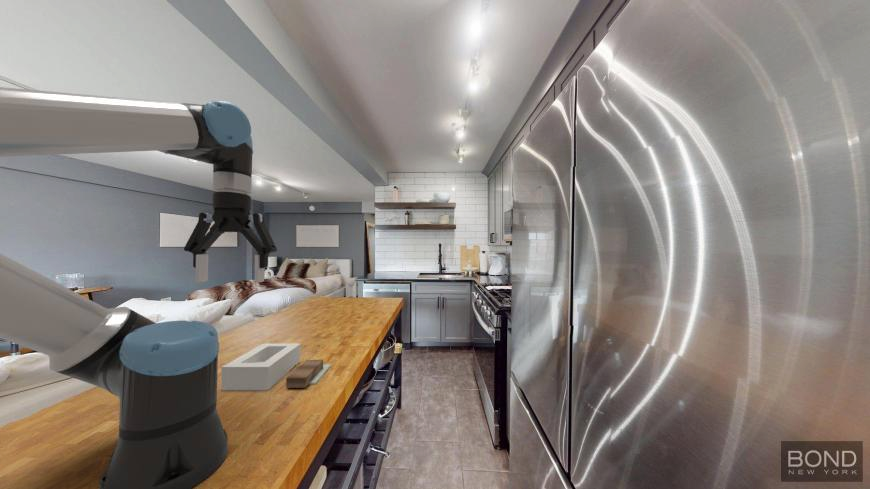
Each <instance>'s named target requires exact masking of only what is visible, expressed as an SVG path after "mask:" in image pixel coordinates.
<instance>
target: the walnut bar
mask: <svg viewBox="0 0 870 489" xmlns="http://www.w3.org/2000/svg"><path fill="white" fill-rule="evenodd" d="M323 364H324V359H306V360H305V361H303V362H302V363H301V364H300V365H299V366H298V367H296V369H294V371H292V372H291V373H290V374H289V375H288V376H287V377H286V378H285V379H286V380H285V388H289V389H290V388H293V389H294V388H296V389H297V388H298V389H299V388H307V387H308V384H309V383H310V382H311V381H312V380H313V379H314V378H315V376H316V375H317V374H318V373H319V372H320V371H321V370H322V369H323ZM309 385H310V384H309Z"/></svg>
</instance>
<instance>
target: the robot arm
mask: <svg viewBox="0 0 870 489" xmlns="http://www.w3.org/2000/svg"><path fill="white" fill-rule="evenodd" d="M251 134H252V126H251V122H250V120H249V117H248V116H247V115H246V113H245V111H243V110H242V109H241V108H240V107H239V106H237V105H236V104H234V103H232V102H229V101H225V100H217V101H210V102H207V103H205V104H198V103H186V102H184V103H183V102H175V101H174V102H171V101H162V100H161V101H159V100H151V99H150V100H149V99H138V98H127V97H115V96H105V95H95V94H94V95H93V94H81V93H71V92H59V91H58V92H57V91H50V90H49V91H47V90H39V89H38V90H37V89H36V90H35V89H24V88H23V89H22V88H13V87H2V86H0V157H1V158H2V157H3V158H5V157H23V156H24V157H26V156H27V157H28V156H48V155H49V156H52V155H54V156H55V155H56V156H57V155H75V154H76V155H79V154H103V153H126V152H128V153H129V152H130V153H131V152H152V151H154V152H155V151H156V152H157V151H158V152H161V153H163V154H165V155H172V156H177V157H180V158H184V159H185V158H186V159H189V160H193V161H198V162H202V163H205V164H210V165H212V168H213V170H212V171H213V173H212V190H213V191H215V192H213V194H212V203H211V204H212V208H213V214H212V213H207V212H200V213H199V214H198V221H197V223H196V225H195V227H194V229H193V230H192V233H191V234H190V236H189V238H188V240H187V241H186V243H185V245H184V247H183V250H184V251H185V252H189V253H191V254H192V256H193V258H192V266H193V268H195V280H194V283H204V282H208V281H209V254H207V251H208V250H209V249H210V248H211V246H213V244H215V242H216V241H218V239H219V238H220V237H221V235H223V234H225V233H241V234H242V235H243V237H244V238H245V239H246V240H247V241H248V242H249V244H250V245H251V246H252V247H253V249H254V250H255V251H256V253H257V254H255V255H254V274H253V275H254V277H253V278H254V279H253V280H254V281H253V282H254V283H263V282H265V272H266V271H265V270H266V269H267V268H268V267H269V255H271V254H272V253H276V252H277V250H278V249H277V246H276V244H275V243H274V241H273V238H272V236H271V234H270V232H269V230H268V227H267V226H266V224H265V217H264V215H263V214H261V213H257V212H254V213H253V214H251V210H252V197H251V196H250V195H251V194H252V181H253V180H252V179H253V178H252V177H253V176H252V173H253V154H254V149H253V137H252V135H251ZM250 222H251V223H253V225H254V228H255V230H256V232H257V234H258V235H257V234H256V233H255V232H254V229H253V228H252V227H251V226H250ZM212 223H213V224H212ZM258 236H259V237H258ZM0 339H2V340H3V341H4V340H5V341H7V342H10V343H13V344H15V345H17V346H18V345H19V346H22V347H23V348H27V349H29V350H32V351H35V352H38V353H40V354H43V355H45V356H48V358H49V359H48V360H49V370H50V371H52V372H55V373H58V374H61V375H65V376H66V377H70V378H73V379H76V380H78V381H82V382H84V383H87V384H90V385H93V386H96V387H98V388H101V389H103V390H105V391H107V392H109V393H110V394H112V395H114V396H115V397H118V399H119V418H118V420H119V421H118V422H119V424H118V439H117V442H116V445H115V448H114V449H113V452H112V455H110V459H109V461H108V465H107V468H106V470H105V471H104V473H103V475H102V477H101V479H100V482H99V485H98V489H193V488H194V487H196V486H197V485H198V484H200V483H201V482H203V481H204V480H206V479H207V478H208V477H209V476H210V475H212V474H213V473H214V472H215V471H216V470H217V469H218V468H219V467H220V465H222V463H224V460H225V458H227V454H228V450H229V449H228V447H229V446H228V445H229V444H228V443H229V442H228V441H229V440H228V439H229V438H228V433H227V432H226V430H225V429H224V427H223V424H222V422H221V418H220V415H219V413H218V410H217V409H218V408H217V402H218V401H217V398H218V397H217V396H218V372H219V370H218V366H219V352H220V342H219V337H218V331H217V329H216V328H215V327H214V325H212V324H210V323H207V322H205V321H197V320H190V321H189V320H169V321H161V322H155V321H153V320H151V319H149V318H148V317H145V316H144V315H142V314H140V313H139V312H137V311H134V310H132V309H130V308H129V307H127V306H119V307H112V308H111V307H110V308H107V307H104V306H103V305H101V304H99V303H97V302H95V301H93V300H91V299H89V298H87V297H86V296H83V295H81V294H79V293H77V292H76V291H74V290H72V289H70V288H68V287H65V286H64V285H62V284H60V283H58V282H57V281H55V280H52V279H50V278H49V277H46V276H44V275H43V274H41V273H39V272H37V271H34V270H33V269H31V268H30V267H27V266H25V265H23V264H22V263H20V262H18V261H15V259H12V258H10V257H8V256H6V255H5V254H2V253H0Z"/></svg>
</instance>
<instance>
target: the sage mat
mask: <svg viewBox="0 0 870 489" xmlns="http://www.w3.org/2000/svg"><path fill="white" fill-rule="evenodd" d="M330 366H331V367H332V364H331V363H329V364H328V363H326V364H324V363H323V369H322V370H321V371H320V372H319V373H318V374H317V375H316V376H315V378H314V379H313V380H312V381H311V382H310V383H309V384H308V385H317V383H318V382H320V380H321V379H322V378H323V376H324V375H325V374H326V373H327V371H328V370H330V368H331V367H330ZM308 385H307V386H308Z"/></svg>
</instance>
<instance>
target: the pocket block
mask: <svg viewBox="0 0 870 489" xmlns="http://www.w3.org/2000/svg"><path fill="white" fill-rule="evenodd" d="M301 344H302V343H261V344H260V345H258V346H256V347H254V348H253V349H251V350H249V351H247V352H246V353H244V354H242V355H240V356H239V357H237V358H235V359H233V360H231V361H230V362H228V363H226V364H224V365H222V366H221V377H220V378H221V379H220V380H221V381H220V391H269V390H271V388H273V386H275V385H276V384H277V383H278V382H280V380H282V379H283V378H284V377H285V376H286V375H287V374H288V373H290V372H291V371H292V370H293V369H294V368H295V367H296V366H297V365H296V364H298V363H299V362H300V363H301V352H302V351H301V350H302V349H301V346H302V345H301ZM300 363H299V364H300ZM299 364H298V365H299ZM295 365H296V366H295ZM294 366H295V367H294ZM293 367H294V368H293ZM292 368H293V369H292ZM291 369H292V370H291ZM290 370H291V371H290ZM289 371H290V372H289Z"/></svg>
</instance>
